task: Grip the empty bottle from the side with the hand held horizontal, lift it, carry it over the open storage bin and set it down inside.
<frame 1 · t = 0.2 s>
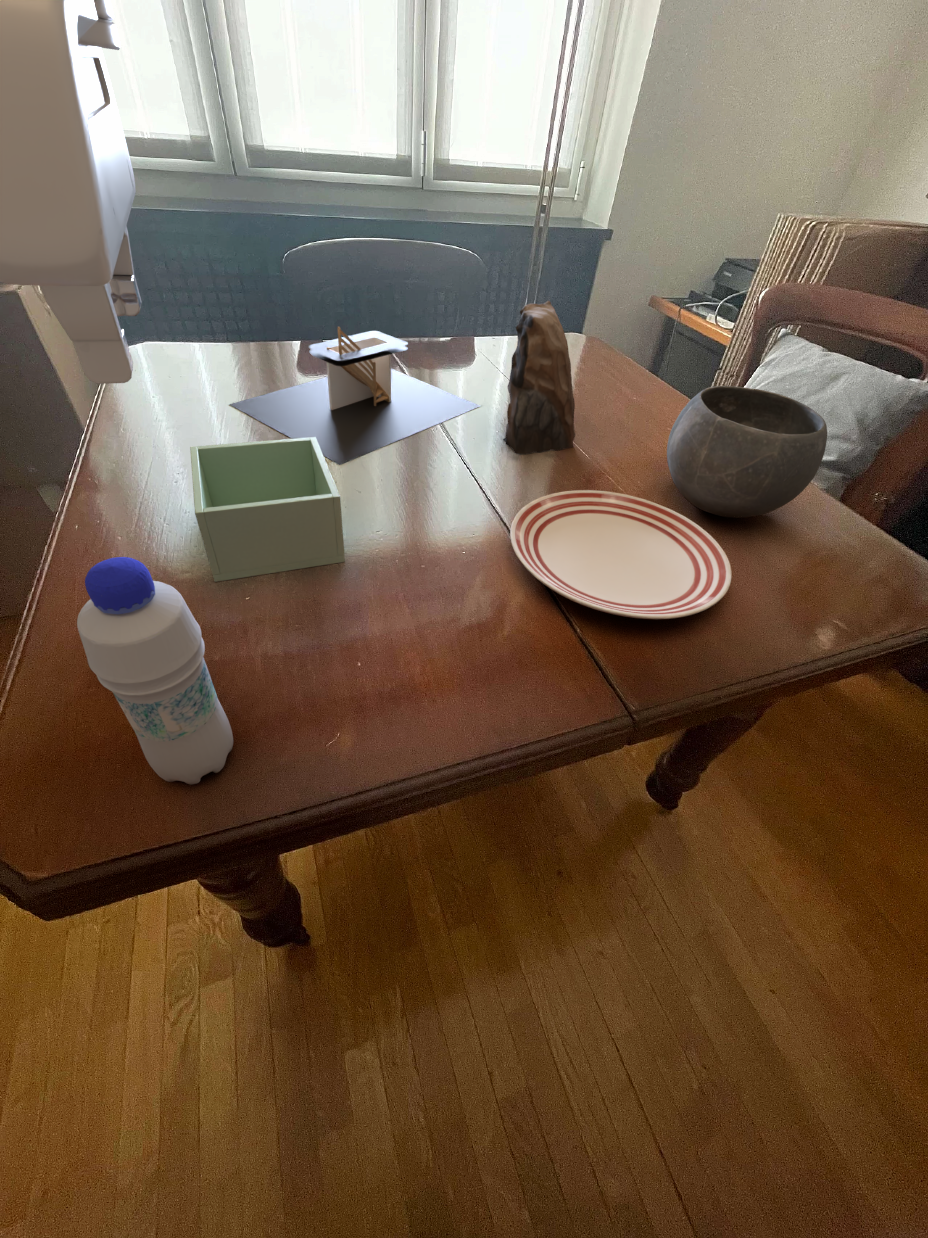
hand: (119, 341, 27), 31 cm above the table, tool pointing down, fingers open, 8 cm apart
architectural model: (361, 406, 99), on the table
open storage bin: (273, 536, 68), on the table
dinner plate: (611, 564, 70), on the table
bottle: (197, 758, 45), on the table
pastry: (146, 666, 52), on the table
brown carved statue: (535, 441, 95), on the table
bowl: (715, 504, 84), on the table
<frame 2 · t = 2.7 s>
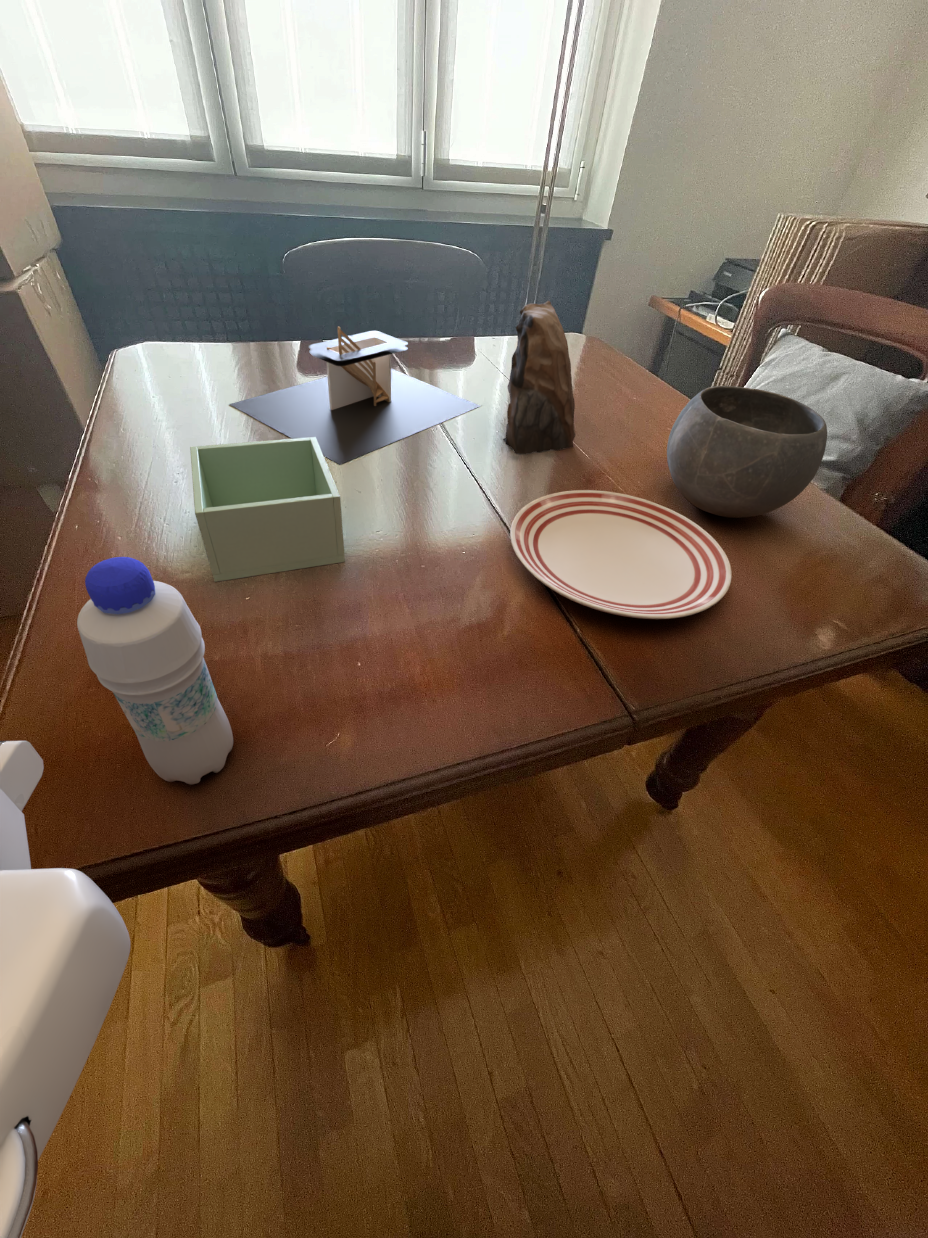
nothing on the table moved.
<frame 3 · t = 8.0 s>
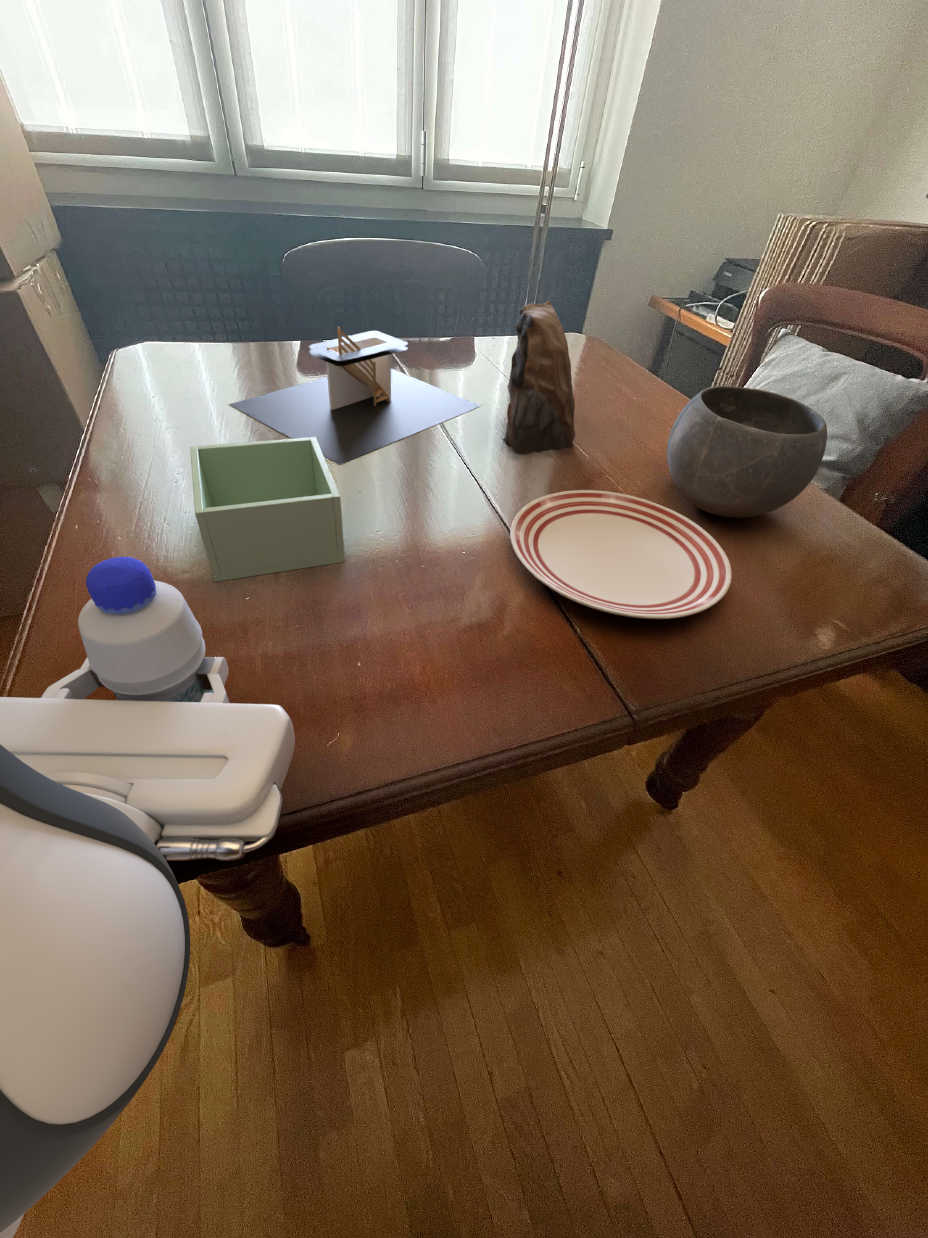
hand: (161, 660, 38), 11 cm above the table, tool horizontal, fingers closed on bottle, 6 cm apart
bottle: (197, 758, 45), on the table, touching gripper
everything else where it was.
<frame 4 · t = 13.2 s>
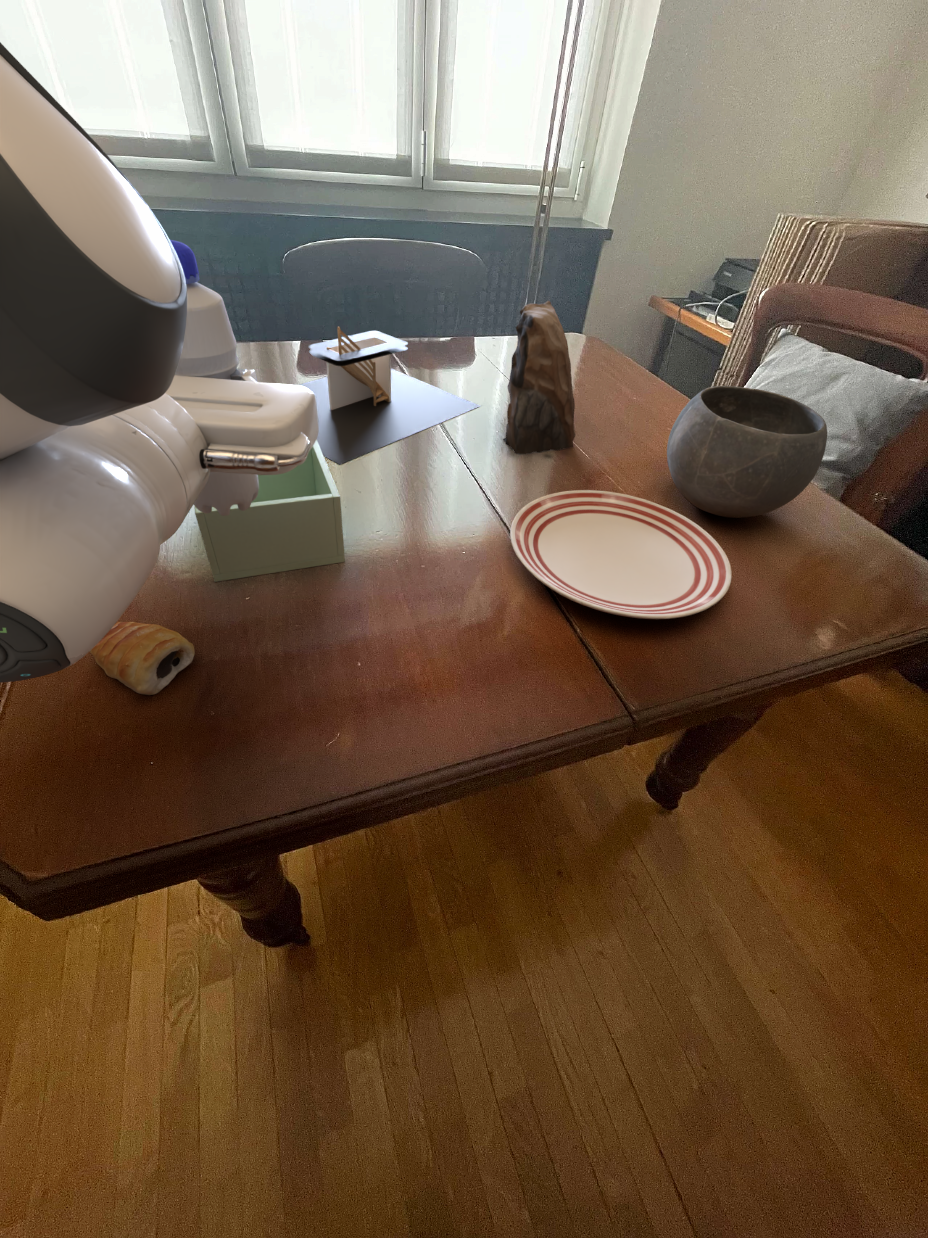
hand: (199, 374, 43), 24 cm above the table, tool horizontal, fingers closed on bottle, 6 cm apart
bottle: (226, 504, 50), point 13 cm above the table, touching gripper
everything else where it was.
when the fingers open (12 cm above the table, at t = 18.6 s): bottle stays where it is, resting on open storage bin.
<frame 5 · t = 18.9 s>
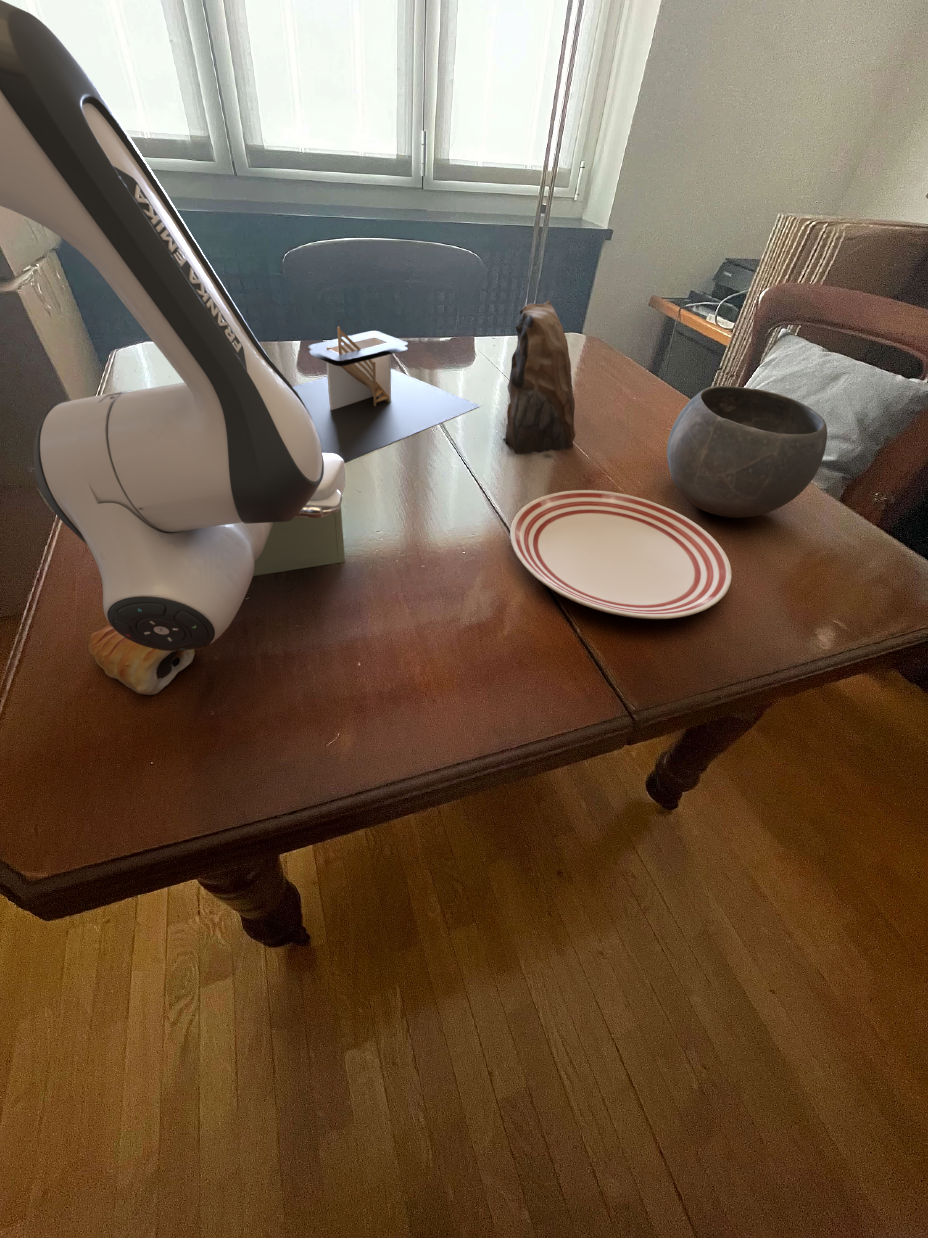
hand: (259, 441, 60), 12 cm above the table, tool horizontal, fingers open, 8 cm apart
bottle: (274, 531, 67), point 1 cm above the table, touching open storage bin
everything else where it was.
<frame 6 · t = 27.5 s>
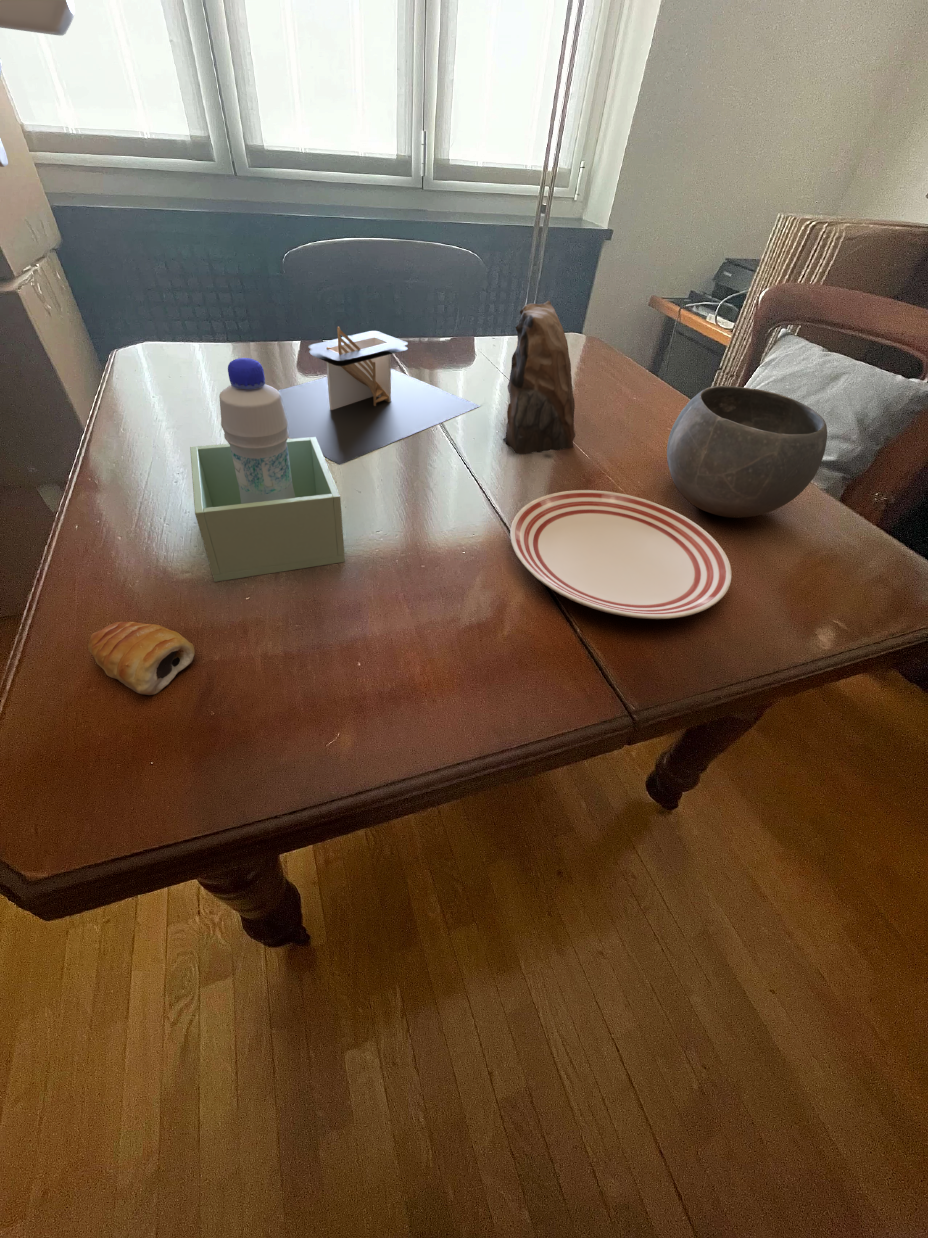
nothing on the table moved.
at the end: bottle inside the target area in the open storage bin (0.2 cm from its centre), point 0.8 cm above the open storage bin's base; the gripper is holding nothing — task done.
